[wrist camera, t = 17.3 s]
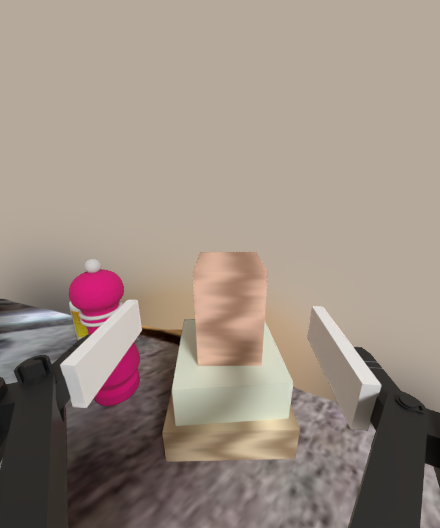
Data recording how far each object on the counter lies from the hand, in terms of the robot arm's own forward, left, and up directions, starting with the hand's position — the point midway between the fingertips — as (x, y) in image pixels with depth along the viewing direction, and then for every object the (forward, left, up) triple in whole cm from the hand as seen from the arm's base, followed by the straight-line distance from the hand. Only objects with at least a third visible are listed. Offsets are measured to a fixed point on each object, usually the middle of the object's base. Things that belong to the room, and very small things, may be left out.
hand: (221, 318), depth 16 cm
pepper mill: (-16, +10, -19) cm, 26 cm away
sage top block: (+1, +8, -14) cm, 16 cm away
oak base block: (+1, +8, -19) cm, 21 cm away
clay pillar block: (+1, +8, -9) cm, 12 cm away
